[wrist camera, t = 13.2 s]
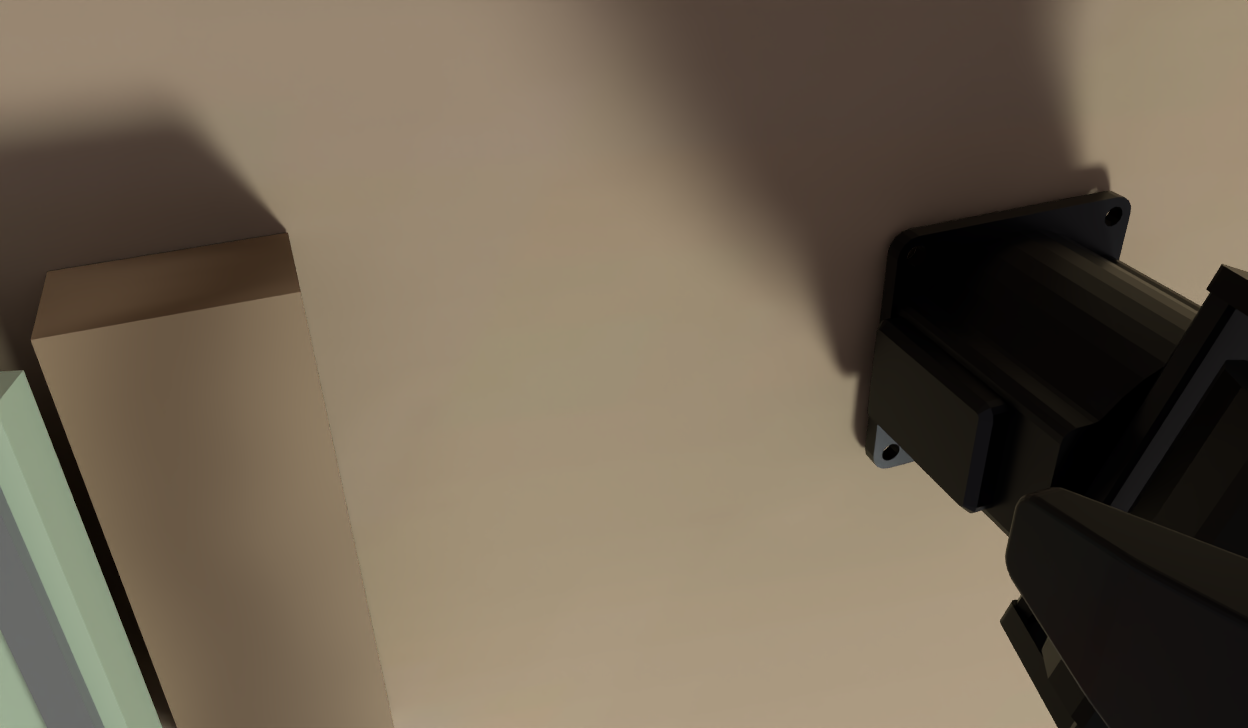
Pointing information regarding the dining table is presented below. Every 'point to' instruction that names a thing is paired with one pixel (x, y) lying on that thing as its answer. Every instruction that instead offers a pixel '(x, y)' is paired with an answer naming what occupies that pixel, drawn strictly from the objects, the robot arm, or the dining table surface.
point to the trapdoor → (55, 593)
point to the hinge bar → (216, 481)
